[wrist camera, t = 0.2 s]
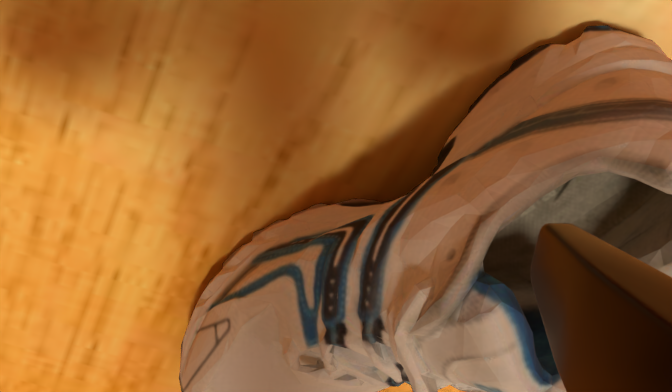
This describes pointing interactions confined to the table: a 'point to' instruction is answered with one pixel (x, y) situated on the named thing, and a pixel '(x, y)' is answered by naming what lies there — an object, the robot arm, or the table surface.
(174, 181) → the table surface
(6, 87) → the table surface
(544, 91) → the athletic shoe
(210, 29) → the table surface
